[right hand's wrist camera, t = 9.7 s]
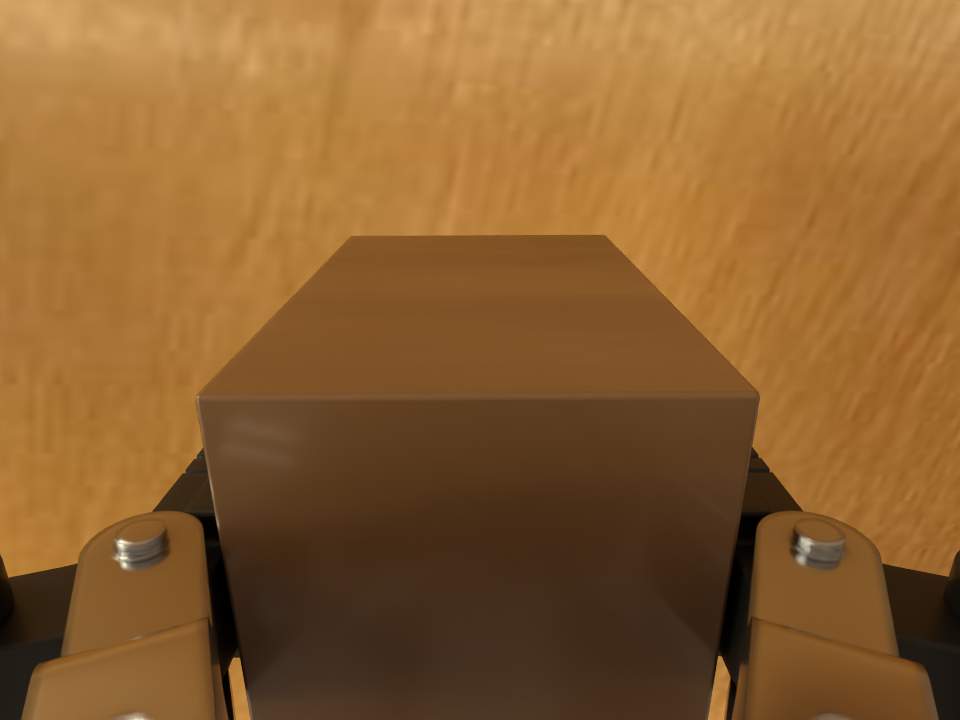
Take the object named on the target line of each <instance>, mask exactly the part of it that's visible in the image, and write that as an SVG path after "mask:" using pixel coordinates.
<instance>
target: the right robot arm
mask: <svg viewBox="0 0 960 720" xmlns="http://www.w3.org/2000/svg"><path fill="white" fill-rule="evenodd" d="M718 656H722V658H723V660H724V663H725V665H726V667H727V669H728V672H729V674H730V680H729V686H728V691H727V699H726V708H725V716H724V720H960V551H958V552H957V554H956V556H955V559H954V562H953V565H952V568H951V571H950V574H949V577H946V576H941V575H936V574H931V573H926V572H921V571H916V570H910V569H905V568H900V567H895V566H891V565H886V564H882V560H881V556H880V553H879V551H878V549H877V548H876V546H875V545H874V544H873V543H872V542H871V541H870V539H868V538H867V537H866V536H865V535H864V534H862V533H861V532H859V531H858V530H856V529H855V528H853V527H851V526H849V525H847V524H845V523H843V522H841V521H838V520H836V519H833V518H830V517H827V516H824V515H820V514H816V513H810V512H803V511H802V509H801V508H800V507H799V505H798V504H797V503H796V502H795V500H794V499H793V498H792V497H791V495H790V494H789V493H788V492H787V490H786V489H785V488H784V487H783V485H782V484H781V483H780V481H779V480H778V479H777V478H776V476H775V475H774V474H773V473H770V471H769V468H768V466H767V465H766V464H765V463H764V461H763V460H762V459H761V458H758V454H757V452H756V451H755V450H754V449H753V447H752V449H751V455H750V462H749V468H748V474H747V480H746V486H745V492H744V499H743V505H742V511H741V517H740V523H739V529H738V536H737V542H736V548H735V554H734V560H733V566H732V572H731V579H730V585H729V591H728V597H727V603H726V609H725V616H724V622H723V628H722V634H721V640H720V646H719V653H718ZM237 657H240V654H239V648H238V643H237V637H236V631H235V625H234V620H233V614H232V608H231V602H230V597H229V591H228V585H227V579H226V574H225V568H224V562H223V556H222V551H221V545H220V539H219V533H218V528H217V522H216V516H215V510H214V505H213V499H212V493H211V487H210V482H209V476H208V470H207V465H206V459H205V453H204V448H203V449H202V450H201V451H200V453H199V454H198V455H197V459H194V460H193V461H192V463H191V464H190V465H189V466H188V468H187V469H186V473H183V474H182V475H181V476H180V478H179V479H178V480H177V481H176V483H175V484H174V485H173V486H172V488H171V489H170V490H169V491H168V493H167V494H166V495H165V496H164V498H163V499H162V500H161V501H160V503H159V504H158V505H157V506H156V508H155V509H154V510H153V511H152V512H150V513H144V514H140V515H136V516H133V517H130V518H127V519H124V520H122V521H119V522H117V523H115V524H113V525H111V526H109V527H107V528H105V529H104V530H102V531H101V532H99V533H98V534H96V535H95V536H94V537H93V538H92V539H90V540H89V542H88V543H87V544H86V545H85V546H84V548H83V549H82V551H81V553H80V556H79V559H78V563H77V564H74V565H69V566H65V567H61V568H56V569H51V570H46V571H41V572H36V573H30V574H25V575H20V576H15V577H10V578H8V575H7V572H6V569H5V566H4V563H3V560H2V557H1V555H0V720H236V717H235V708H234V700H233V692H232V686H231V681H230V675H229V670H228V668H229V666H230V663H231V661H232V659H233V658H237Z"/></svg>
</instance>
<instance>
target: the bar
mask: <svg viewBox="0 0 960 720" xmlns="http://www.w3.org/2000/svg"><path fill="white" fill-rule="evenodd" d="M195 400H196V407H197V413H198V419H199V424H200V430H201V436H202V442H203V447H204V453H205V459H206V465H207V470H208V476H209V482H210V487H211V493H212V499H213V505H214V510H215V516H216V522H217V528H218V533H219V539H220V545H221V551H222V556H223V562H224V568H225V574H226V579H227V585H228V591H229V597H230V602H231V608H232V614H233V620H234V625H235V631H236V637H237V643H238V648H239V654H240V660H241V666H242V671H243V677H244V683H245V689H246V694H247V700H248V706H249V712H250V717H251V720H708V714H709V708H710V702H711V696H712V690H713V683H714V677H715V671H716V665H717V659H718V653H719V646H720V640H721V634H722V628H723V622H724V616H725V609H726V603H727V597H728V591H729V585H730V579H731V572H732V566H733V560H734V554H735V548H736V542H737V536H738V529H739V523H740V517H741V511H742V505H743V499H744V492H745V486H746V480H747V474H748V468H749V462H750V455H751V449H752V443H753V437H754V431H755V425H756V418H757V412H758V406H759V400H760V396H759V393H758V391H757V390H756V389H755V388H754V387H753V386H752V385H751V384H750V383H749V382H748V381H747V380H746V379H745V378H744V377H743V376H742V375H741V374H740V373H739V372H738V371H737V370H736V369H735V368H734V367H733V366H732V365H731V364H730V363H729V362H728V361H727V360H726V358H725V357H724V356H723V355H722V354H721V353H720V352H719V351H718V350H717V349H716V348H715V347H714V346H713V345H712V344H711V343H710V342H709V341H708V340H707V339H706V338H705V337H704V336H703V335H702V334H701V333H700V332H699V331H698V330H697V329H696V328H695V327H694V326H693V325H692V324H691V323H690V322H689V321H688V320H687V319H686V318H685V317H684V316H683V315H682V313H681V312H680V311H679V310H678V309H677V308H676V307H675V306H674V305H673V304H672V303H671V302H670V301H669V300H668V299H667V298H666V297H665V296H664V295H663V294H662V293H661V292H660V291H659V290H658V289H657V288H656V287H655V286H654V285H653V284H652V283H651V282H650V281H649V280H648V279H647V278H646V277H645V276H644V275H643V274H642V273H641V272H640V271H639V269H638V268H637V267H636V266H635V265H634V264H633V263H632V262H631V261H630V260H629V259H628V258H627V257H626V256H625V255H624V254H623V253H622V252H621V251H620V250H619V249H618V248H617V247H616V246H615V245H614V244H613V243H612V242H611V241H610V240H609V239H608V238H607V237H606V236H605V235H496V236H352V237H350V238H349V239H348V240H347V241H346V242H345V243H344V244H343V245H342V246H341V247H340V248H339V249H338V250H337V251H336V252H335V253H334V254H333V255H332V256H331V257H330V258H329V259H328V260H327V261H326V262H325V263H324V265H323V266H322V267H321V268H320V269H319V270H318V271H317V272H316V273H315V274H314V275H313V276H312V277H311V278H310V279H309V280H308V281H307V282H306V283H305V284H304V285H303V286H302V287H301V288H300V289H299V290H298V291H297V292H296V293H295V294H294V295H293V296H292V297H291V298H290V299H289V300H288V302H287V303H286V304H285V305H284V306H283V307H282V308H281V309H280V310H279V311H278V312H277V313H276V314H275V315H274V316H273V317H272V318H271V319H270V320H269V321H268V322H267V323H266V324H265V325H264V326H263V327H262V328H261V329H260V330H259V331H258V332H257V333H256V334H255V335H254V336H253V337H252V338H251V340H250V341H249V342H248V343H247V344H246V345H245V346H244V347H243V348H242V349H241V350H240V351H239V352H238V353H237V354H236V355H235V356H234V357H233V358H232V359H231V360H230V361H229V362H228V363H227V364H226V365H225V366H224V367H223V368H222V369H221V370H220V371H219V372H218V373H217V374H216V375H215V377H214V378H213V379H212V380H211V381H210V382H209V383H208V384H207V385H206V386H205V387H204V388H203V389H202V390H201V391H200V392H199V393H198V394H197V396H196V399H195Z"/></svg>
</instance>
